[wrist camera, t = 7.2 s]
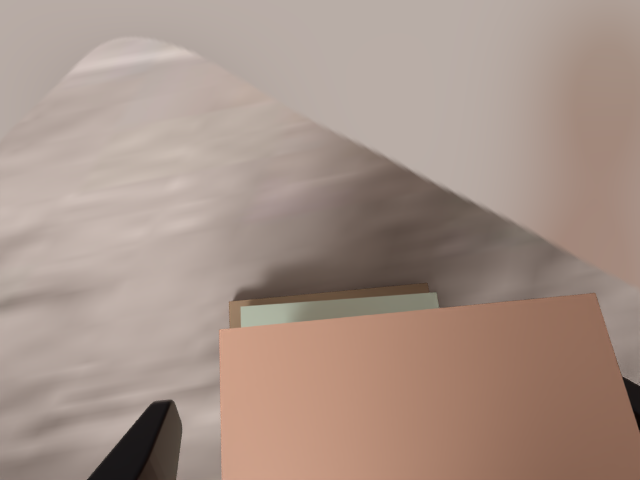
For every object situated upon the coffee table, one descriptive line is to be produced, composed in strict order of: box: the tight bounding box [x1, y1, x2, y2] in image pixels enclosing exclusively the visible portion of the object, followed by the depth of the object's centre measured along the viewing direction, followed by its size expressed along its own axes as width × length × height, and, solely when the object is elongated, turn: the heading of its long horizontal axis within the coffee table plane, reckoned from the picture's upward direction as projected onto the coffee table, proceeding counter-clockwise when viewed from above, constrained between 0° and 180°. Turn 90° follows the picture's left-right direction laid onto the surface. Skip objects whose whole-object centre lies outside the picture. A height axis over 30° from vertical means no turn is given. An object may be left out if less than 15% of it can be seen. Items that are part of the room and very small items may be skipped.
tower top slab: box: [241, 292, 439, 327], centre depth 16 cm, size 9×9×2 cm
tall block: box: [219, 293, 640, 480], centre depth 10 cm, size 5×5×12 cm
